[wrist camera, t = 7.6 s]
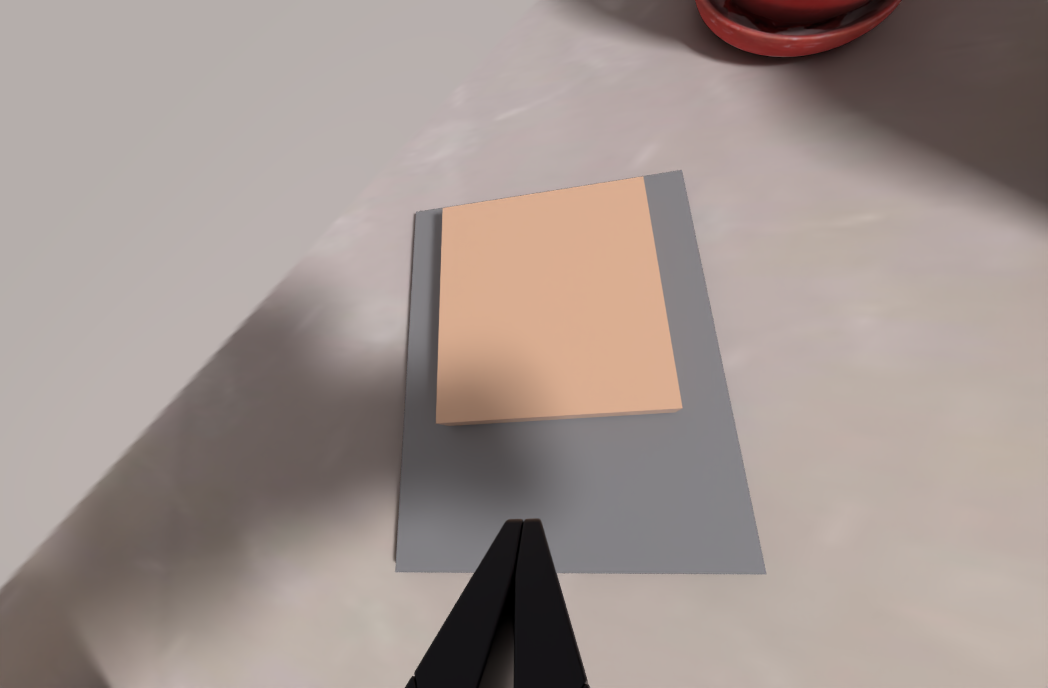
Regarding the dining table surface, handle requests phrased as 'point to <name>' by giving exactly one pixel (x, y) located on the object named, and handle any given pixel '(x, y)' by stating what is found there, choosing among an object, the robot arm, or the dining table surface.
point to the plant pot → (792, 23)
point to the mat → (583, 446)
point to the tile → (553, 309)
